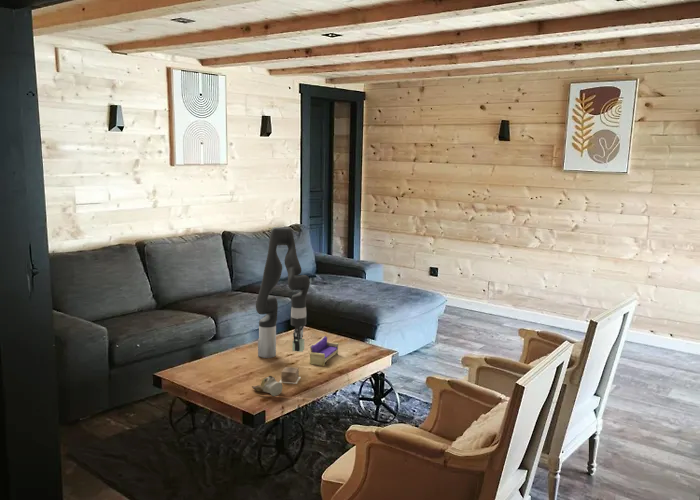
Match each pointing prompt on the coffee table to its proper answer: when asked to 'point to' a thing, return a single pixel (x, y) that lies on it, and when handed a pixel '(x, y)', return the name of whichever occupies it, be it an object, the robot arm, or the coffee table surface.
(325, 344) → the toy sofa
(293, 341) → the sage cube
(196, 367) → the coffee table surface
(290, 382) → the mat
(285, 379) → the walnut base block
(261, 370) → the coffee table surface
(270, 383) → the ceramic sculpture
